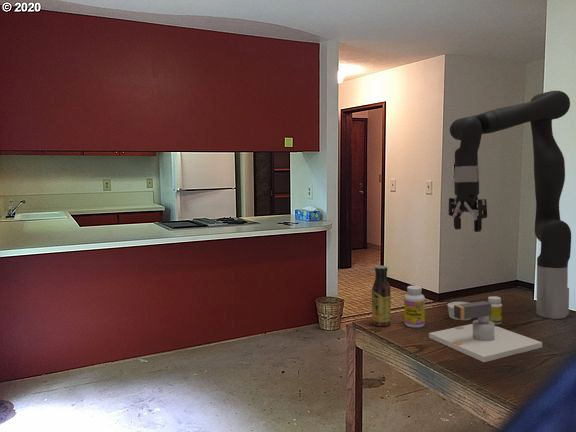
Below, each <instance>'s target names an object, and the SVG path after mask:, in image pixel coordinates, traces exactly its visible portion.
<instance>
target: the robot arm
mask: <svg viewBox="0 0 576 432" xmlns="http://www.w3.org/2000/svg"><path fill="white" fill-rule="evenodd" d="M570 107H571V100H570V97H569V95H568V94H567V93H566V92H564V91H562V90H550V91H547V92H541V93H538V94H536V95H534V96H533V97H532V98H531V99H530V101H528V102H523V103H518V104H514V105H508V106H503V107H499V108H495V109H492V110H487V111H485V112H482V113H479V114H475V115H470V116H465V117H461V118H458V119H457V118H456V119H455V120H454V121H453V122H452V123H451V125H450V127H449V135H450V136H451V137H452V139H454V140H456V141H460V144H459V147H458V148H456V150H455V151H454V170H453V171H454V172H453V173H454V174H453V182H454V183H453V186H454V195H455V196H456V197H449V198H448V216H449V217H452V218H453V228H454V230H461V229H462V218H461V217H462V215H463V214H464V213H469V214H470V215H471V216H472V217H473V219H474V220H473V232H475V233H479V232H482V227H483V226H482V225H483V224H482V223H483V221H482V220H483V219H486V218H488V208H487V207H488V206H487V205H488V203H487V199H486V198H478V196H479V194H480V172H479V171H480V170H479V155H478V153H479V149H480V145H481V140H482V136H483V135H484V134H485V135H486V134H492V133H495V132H499V131H504V130H507V129H509V128H513V127H517V126H520V125H523V124H526V123H529V122H530V127H531V130H530V131H531V136H532V150H533V178H534V180H533V181H534V192H535V193H534V194H535V218H534V219H535V221H534V235H535V237H536V238H537V240H538V241H539V242H540V252H539V253H540V254H539V255H538V256H537V257H536V315H537V316H539V317H542V318H547V319H554V320H555V319H556V320H560V319H561V320H562V319H565V318H567V316H569V315H570V313H569V312H570V288H569V287H568V283H569V281H568V278H569V277H568V274H569V272H568V271H569V270H568V269H569V267H568V266H569V261H570V259H571V249H572V231H571V227H570V226H569V224H568V223H566V222H565V221H563V220H561V213H560V199H561V197H562V192H563V189H564V186H565V181H566V165H565V164H566V163H565V162H566V161H565V157H564V155H563V152H562V150H561V148H560V146H559V145H558V143H557V142H556V140H555V138H554V133H553V120H558V119H560V118H562V117H564V116H565V115H566V114H567V113H568V112H569V111H570Z"/></svg>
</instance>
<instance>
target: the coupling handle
mask: <svg viewBox="0 0 576 432" xmlns="http://www.w3.org/2000/svg"><path fill="white" fill-rule="evenodd" d="M490 315H491V303H488V301H485V300H482V301H474V302H467V304H459V305H454V317H455V318H457V319H460V320H459V321H465V320H464V319H469V318H472V319H475V318H477V320H478V322H479V323H489V316H490Z"/></svg>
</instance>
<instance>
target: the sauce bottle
mask: <svg viewBox="0 0 576 432" xmlns="http://www.w3.org/2000/svg"><path fill="white" fill-rule="evenodd" d="M374 271H375V280H374V283H373V286H372V288H371V320H372V324H373V325H374V326H376V327H388V326H390V325H391V321H392V320H391V319H392V318H391V317H392V315H391V313H392V309H391V308H392V305H391V303H392V299H391V297H392V295H391V284H390V283H389V282H388V276H387V275H388V266H385V265H376V266H375V267H374Z"/></svg>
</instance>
